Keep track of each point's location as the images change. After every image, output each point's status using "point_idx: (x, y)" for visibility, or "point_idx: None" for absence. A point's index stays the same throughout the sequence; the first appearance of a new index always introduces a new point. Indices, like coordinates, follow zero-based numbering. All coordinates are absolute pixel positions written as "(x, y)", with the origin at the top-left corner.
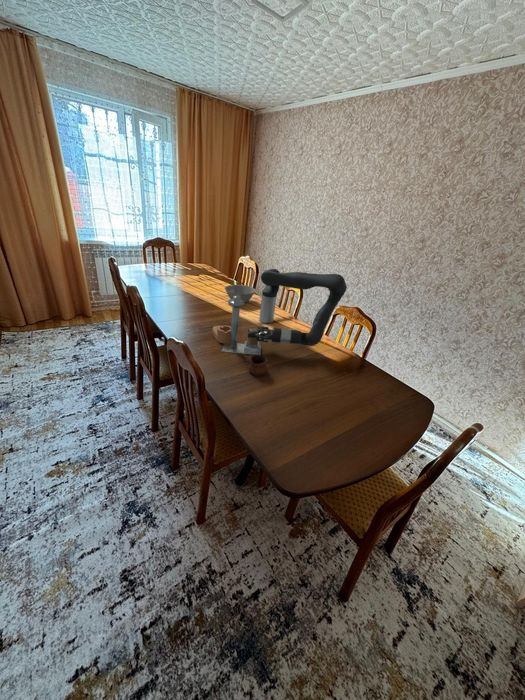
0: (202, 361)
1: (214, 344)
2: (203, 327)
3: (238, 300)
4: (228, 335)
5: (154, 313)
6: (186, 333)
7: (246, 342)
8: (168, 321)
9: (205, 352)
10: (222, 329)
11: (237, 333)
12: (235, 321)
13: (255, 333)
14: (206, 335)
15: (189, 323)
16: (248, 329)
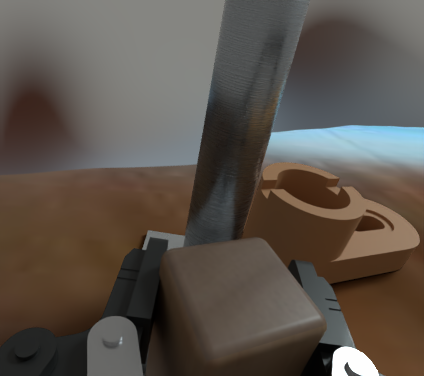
0: (58, 172)
1: None
2: (369, 196)
3: None
4: (266, 220)
5: (367, 128)
6: (286, 159)
7: None
8: (342, 139)
9: (140, 185)
10: (327, 200)
11: (209, 202)
12: (215, 65)
13: (175, 333)
14: None
15: (368, 170)
16: (291, 261)
